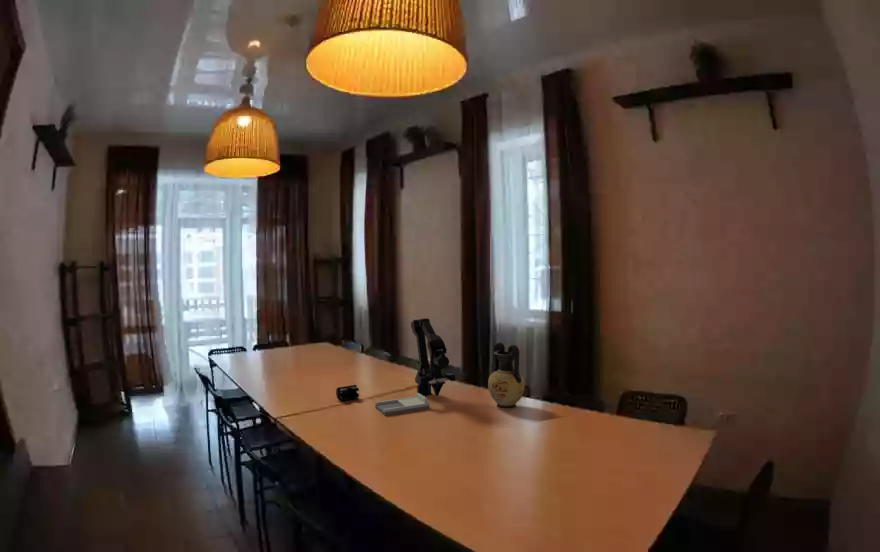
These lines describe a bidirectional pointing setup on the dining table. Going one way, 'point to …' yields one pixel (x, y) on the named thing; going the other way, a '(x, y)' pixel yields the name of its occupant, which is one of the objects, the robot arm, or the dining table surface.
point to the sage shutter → (413, 400)
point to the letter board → (398, 407)
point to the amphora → (506, 377)
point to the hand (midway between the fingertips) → (436, 396)
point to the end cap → (347, 393)
